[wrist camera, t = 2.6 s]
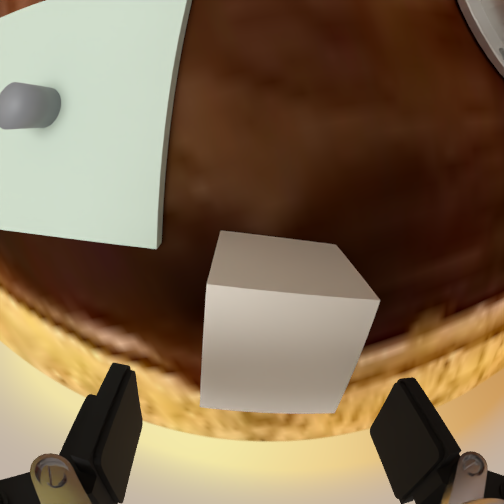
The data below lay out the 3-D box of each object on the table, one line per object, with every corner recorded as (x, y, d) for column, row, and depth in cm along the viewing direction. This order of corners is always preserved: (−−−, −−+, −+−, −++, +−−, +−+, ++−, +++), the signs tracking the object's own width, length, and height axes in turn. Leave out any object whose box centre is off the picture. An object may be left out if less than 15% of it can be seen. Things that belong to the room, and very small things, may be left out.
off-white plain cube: (335, 244, 16) (380, 300, 10) (312, 338, 18) (334, 413, 12) (220, 230, 15) (206, 283, 10) (211, 329, 17) (200, 406, 12)
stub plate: (195, -15, 11) (182, -54, 7) (161, 242, 15) (137, 274, 12) (0, 24, 10) (-37, 14, 6) (-18, 221, 15) (-56, 240, 11)
